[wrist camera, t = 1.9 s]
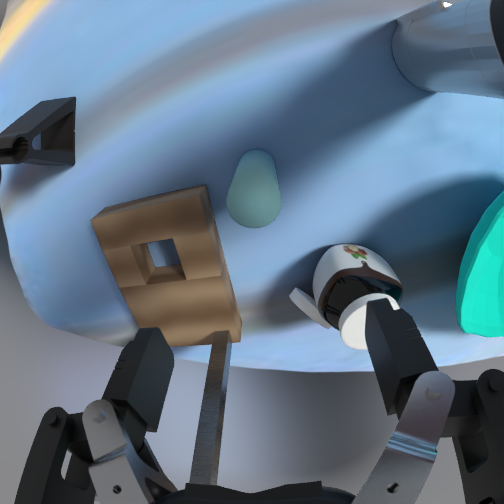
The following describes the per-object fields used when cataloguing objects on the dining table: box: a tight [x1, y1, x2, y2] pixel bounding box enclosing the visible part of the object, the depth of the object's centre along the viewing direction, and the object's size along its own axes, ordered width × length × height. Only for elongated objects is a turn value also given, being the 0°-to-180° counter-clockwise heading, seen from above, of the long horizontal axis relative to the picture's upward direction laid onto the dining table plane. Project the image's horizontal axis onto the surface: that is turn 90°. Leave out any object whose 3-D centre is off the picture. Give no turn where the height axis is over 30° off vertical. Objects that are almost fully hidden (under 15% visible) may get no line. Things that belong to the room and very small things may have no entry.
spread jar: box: [289, 243, 403, 350], centre depth 33 cm, size 12×11×12 cm
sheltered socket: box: [91, 185, 242, 502], centre depth 26 cm, size 22×14×30 cm, turn 10°
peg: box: [226, 149, 282, 228], centre depth 26 cm, size 4×4×12 cm
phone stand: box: [0, 97, 76, 165], centre depth 24 cm, size 9×6×12 cm, turn 172°
